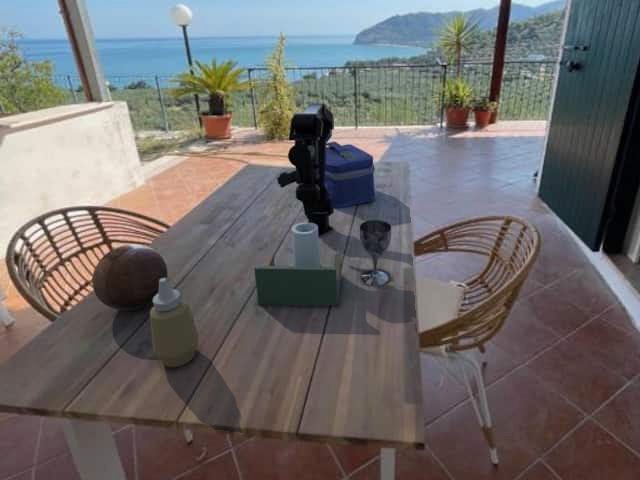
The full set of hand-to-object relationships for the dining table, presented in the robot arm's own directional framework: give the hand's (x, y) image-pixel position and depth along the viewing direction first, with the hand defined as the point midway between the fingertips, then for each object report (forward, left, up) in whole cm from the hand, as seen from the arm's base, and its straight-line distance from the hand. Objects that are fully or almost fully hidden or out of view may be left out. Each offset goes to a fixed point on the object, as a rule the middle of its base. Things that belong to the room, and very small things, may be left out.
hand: (309, 213), depth 110 cm
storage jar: (+8, +6, -13) cm, 16 cm away
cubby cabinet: (+15, +11, -13) cm, 23 cm away
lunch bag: (-43, -23, -13) cm, 50 cm away
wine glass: (-1, +23, -13) cm, 26 cm away
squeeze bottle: (+45, +8, -13) cm, 48 cm away
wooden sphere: (+42, -16, -13) cm, 47 cm away
